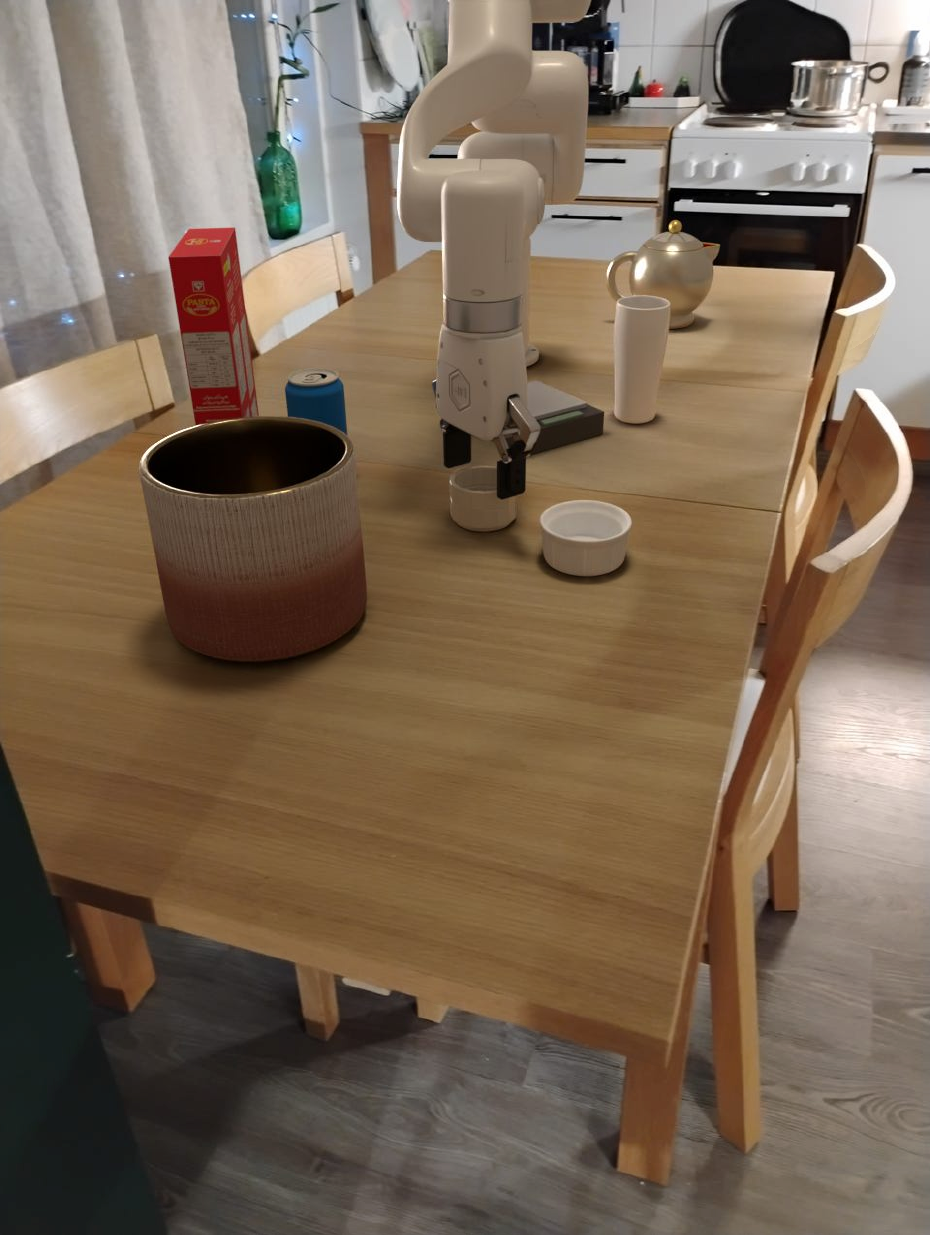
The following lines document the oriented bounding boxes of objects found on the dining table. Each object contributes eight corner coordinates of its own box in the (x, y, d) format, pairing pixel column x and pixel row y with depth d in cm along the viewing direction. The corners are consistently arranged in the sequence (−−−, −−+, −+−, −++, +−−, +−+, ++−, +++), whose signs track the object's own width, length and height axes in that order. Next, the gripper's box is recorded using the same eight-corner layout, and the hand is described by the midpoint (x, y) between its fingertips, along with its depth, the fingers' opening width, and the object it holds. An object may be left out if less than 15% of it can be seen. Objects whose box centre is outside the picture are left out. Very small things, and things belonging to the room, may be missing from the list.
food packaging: (219, 433, 129) (188, 228, 116) (260, 432, 129) (235, 227, 116) (204, 481, 116) (168, 257, 103) (250, 478, 117) (220, 255, 104)
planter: (387, 650, 86) (376, 481, 77) (174, 687, 82) (138, 512, 73) (348, 556, 100) (335, 404, 92) (165, 583, 96) (134, 427, 88)
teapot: (704, 312, 174) (715, 211, 166) (717, 334, 163) (730, 228, 154) (600, 312, 175) (606, 212, 167) (606, 334, 164) (612, 229, 155)
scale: (463, 421, 131) (462, 395, 129) (536, 403, 137) (536, 377, 135) (527, 455, 121) (527, 427, 120) (603, 434, 127) (604, 407, 125)
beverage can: (359, 468, 119) (352, 369, 112) (336, 490, 114) (326, 388, 107) (310, 462, 121) (300, 364, 114) (284, 483, 115) (273, 382, 109)
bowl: (438, 515, 108) (437, 475, 106) (491, 499, 111) (491, 460, 109) (475, 539, 103) (474, 498, 101) (529, 522, 106) (530, 482, 104)
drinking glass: (659, 428, 128) (670, 310, 120) (606, 425, 129) (613, 308, 122) (661, 410, 134) (672, 296, 126) (610, 407, 135) (617, 294, 127)
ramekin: (605, 589, 94) (607, 548, 92) (522, 566, 98) (523, 526, 96) (643, 551, 100) (646, 511, 98) (564, 530, 104) (565, 492, 102)
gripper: (402, 301, 100) (409, 462, 109) (503, 340, 88) (502, 518, 96) (465, 290, 103) (467, 447, 112) (571, 326, 91) (563, 499, 100)
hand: (483, 479), depth 104 cm, fingers open, 9 cm apart
